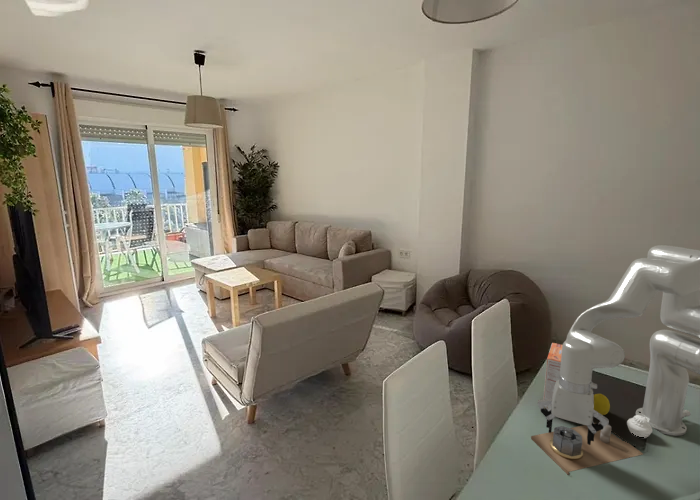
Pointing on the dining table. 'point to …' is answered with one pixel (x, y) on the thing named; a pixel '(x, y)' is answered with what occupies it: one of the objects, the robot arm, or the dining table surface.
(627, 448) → the board
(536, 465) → the dining table surface
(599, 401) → the lemon
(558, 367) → the cracker box
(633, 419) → the muffin
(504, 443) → the dining table surface
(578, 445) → the ring
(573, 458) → the hub
